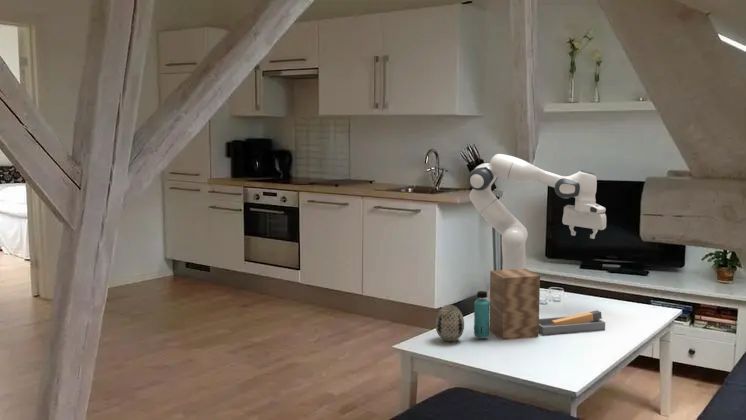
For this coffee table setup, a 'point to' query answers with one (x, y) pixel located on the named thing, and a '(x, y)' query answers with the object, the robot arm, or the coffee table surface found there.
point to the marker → (578, 318)
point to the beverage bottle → (481, 315)
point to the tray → (568, 327)
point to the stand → (514, 303)
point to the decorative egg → (449, 323)
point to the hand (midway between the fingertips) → (582, 236)
